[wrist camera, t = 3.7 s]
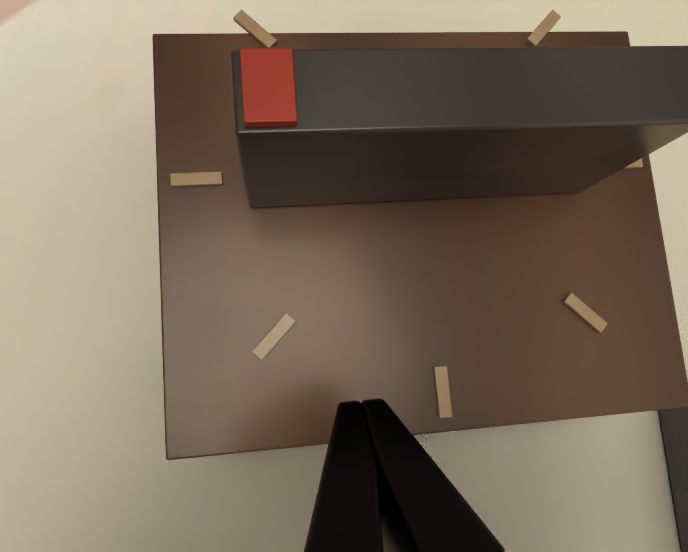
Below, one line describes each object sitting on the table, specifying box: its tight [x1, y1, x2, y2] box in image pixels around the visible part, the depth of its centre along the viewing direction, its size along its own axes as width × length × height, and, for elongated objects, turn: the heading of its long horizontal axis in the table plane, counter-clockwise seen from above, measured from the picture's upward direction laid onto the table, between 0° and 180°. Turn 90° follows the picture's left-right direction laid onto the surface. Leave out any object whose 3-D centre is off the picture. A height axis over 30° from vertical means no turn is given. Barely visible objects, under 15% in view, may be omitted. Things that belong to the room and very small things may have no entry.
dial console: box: [153, 10, 688, 460], centre depth 18 cm, size 15×15×5 cm
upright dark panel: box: [230, 46, 688, 207], centre depth 13 cm, size 10×2×5 cm, turn 95°
